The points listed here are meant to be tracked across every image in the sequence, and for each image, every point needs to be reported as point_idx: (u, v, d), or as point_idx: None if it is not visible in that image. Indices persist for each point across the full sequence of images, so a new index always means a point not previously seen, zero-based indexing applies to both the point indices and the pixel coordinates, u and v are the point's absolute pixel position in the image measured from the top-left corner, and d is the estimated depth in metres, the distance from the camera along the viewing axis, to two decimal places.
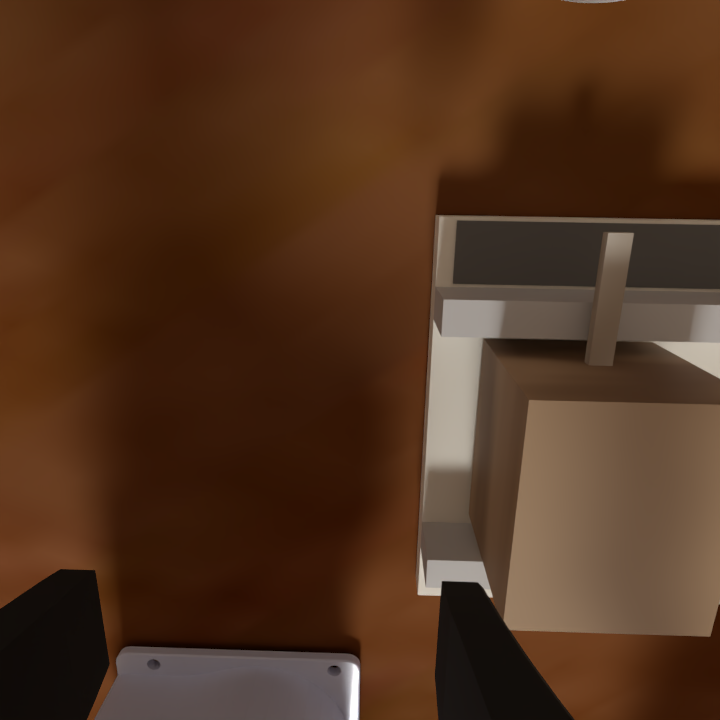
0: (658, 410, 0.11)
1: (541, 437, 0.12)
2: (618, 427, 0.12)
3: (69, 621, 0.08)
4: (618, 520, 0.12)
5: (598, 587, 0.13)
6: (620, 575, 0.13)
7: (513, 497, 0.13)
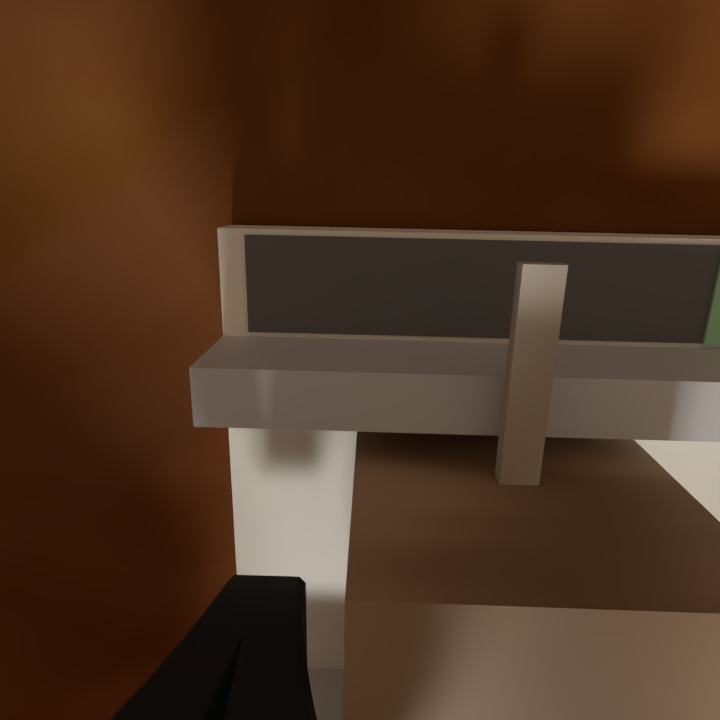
0: (599, 621, 0.06)
1: (375, 664, 0.06)
2: (523, 648, 0.06)
3: None
4: None
5: None
6: None
7: None
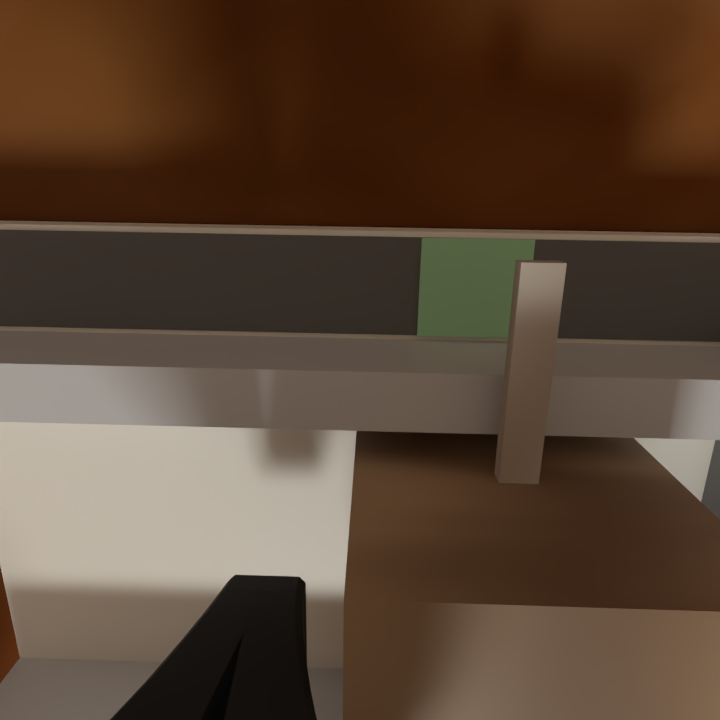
0: (598, 620, 0.06)
1: (375, 664, 0.06)
2: (522, 647, 0.06)
3: None
4: None
5: None
6: None
7: None
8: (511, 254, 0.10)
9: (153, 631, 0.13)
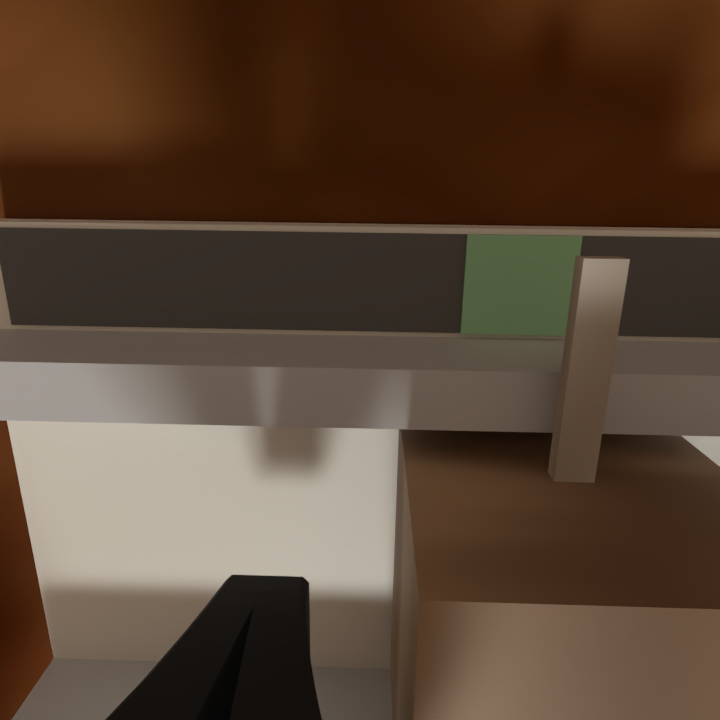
0: (678, 621, 0.06)
1: (448, 665, 0.06)
2: (599, 647, 0.06)
3: None
4: None
5: None
6: None
7: None
8: (557, 251, 0.10)
9: None
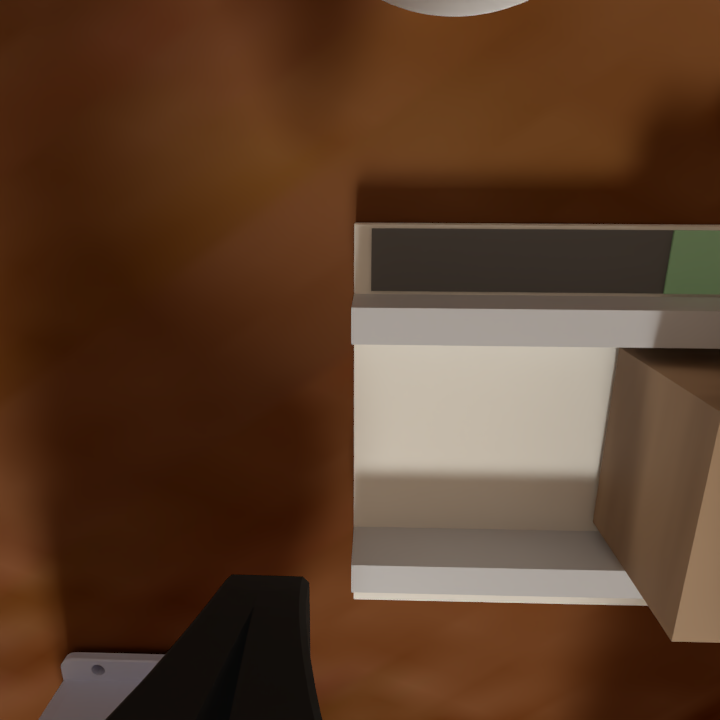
0: None
1: None
2: None
3: None
4: None
5: None
6: None
7: (689, 509, 0.13)
8: None
9: (451, 505, 0.18)
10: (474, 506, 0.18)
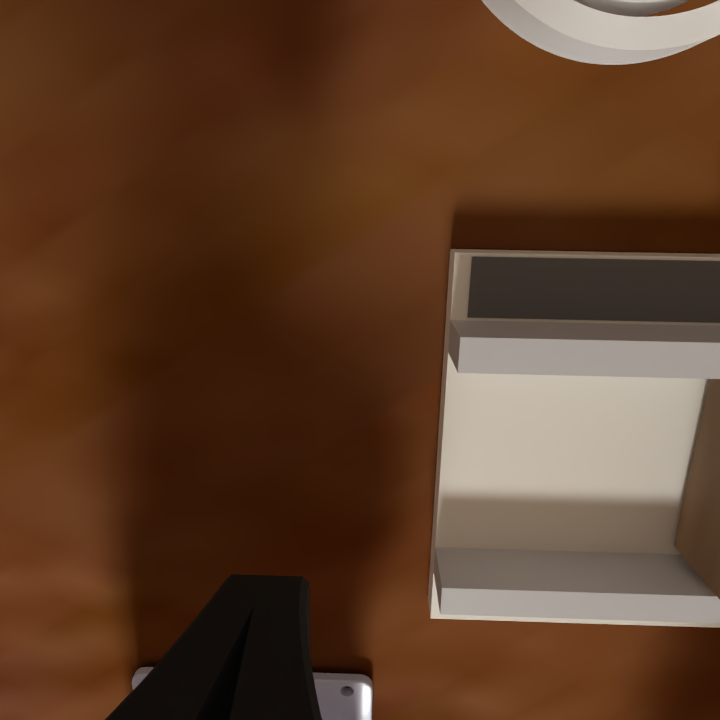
0: None
1: None
2: None
3: None
4: None
5: None
6: None
7: None
8: None
9: (533, 527, 0.18)
10: (556, 529, 0.18)
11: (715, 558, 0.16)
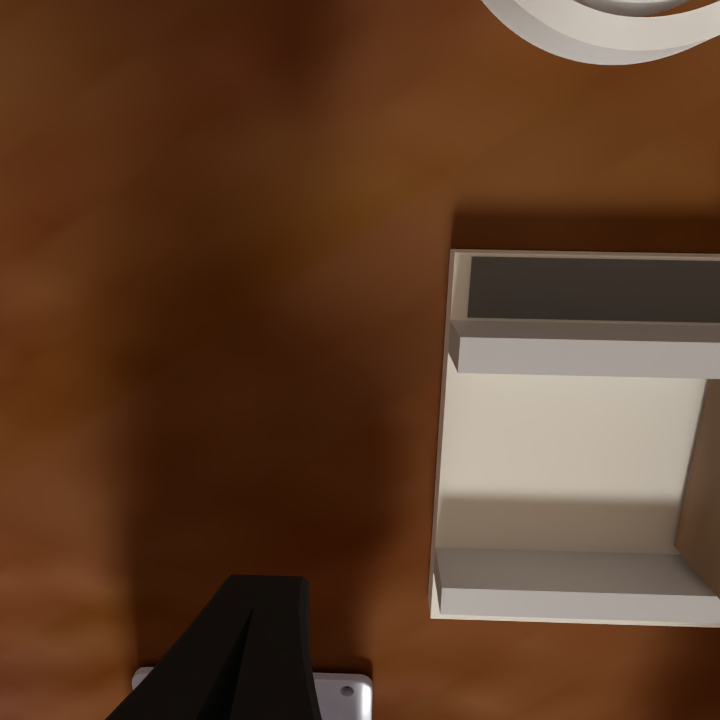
0: None
1: None
2: None
3: None
4: None
5: None
6: None
7: None
8: None
9: (533, 527, 0.18)
10: (556, 529, 0.18)
11: (715, 558, 0.16)
